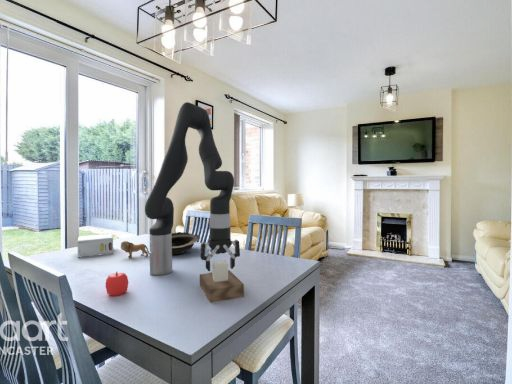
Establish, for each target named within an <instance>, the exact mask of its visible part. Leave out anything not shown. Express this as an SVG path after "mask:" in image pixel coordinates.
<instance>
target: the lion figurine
mask: <svg viewBox="0 0 512 384" xmlns="http://www.w3.org/2000/svg"><path fill="white" fill-rule="evenodd" d="M120 249H121V250H122V251H124V252H125V253H128V254H129V255H128V258H129V259H132V258H133V253H136V252H139V251H141V252H142V254H140V256H141V257H142V256H145V257H146V258H147V257H149V255H150V251H149V249H148V246H147V245H146V244H144V243H140V244H135V243H133V242H130V241H127V240H123V241H122V242H120Z"/></svg>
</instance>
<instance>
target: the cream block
mask: <svg viewBox="0 0 512 384" xmlns="http://www.w3.org/2000/svg"><path fill="white" fill-rule="evenodd" d="M211 263H212V264H211V266H212V267H211V268H212V269H211V270H212V272H211V273H212V276H213V280H214V282H220V281H228V270H229V263H228V262H227V261H226V259H224V260H217V261H216V260H213V261H212V262H211Z"/></svg>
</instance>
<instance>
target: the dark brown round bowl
mask: <svg viewBox="0 0 512 384" xmlns="http://www.w3.org/2000/svg"><path fill="white" fill-rule="evenodd" d="M200 239H201V238H200V236H199V234H198V233H197V234H193V233H189V232H181V231H178V232H172V256H175V255H177V254H182V253H183V252H184V253H185V252H186V251H188V250H190V249H192V248H193V247H194V245H195V243H196V242H198V241H199V240H200Z"/></svg>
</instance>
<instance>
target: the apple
mask: <svg viewBox="0 0 512 384" xmlns="http://www.w3.org/2000/svg"><path fill="white" fill-rule="evenodd" d="M129 283H130V282H129V279H128V276H127V274H126V273H124V272H118V271H116V272H115V273H112V274H109V275H108V276H107V278H106V279H105V290H106V294H107V295H110V296H112V295H113V297H116V295H117V296H121V295H123V294H125V293H126V292H127V291H128V288H129Z"/></svg>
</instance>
